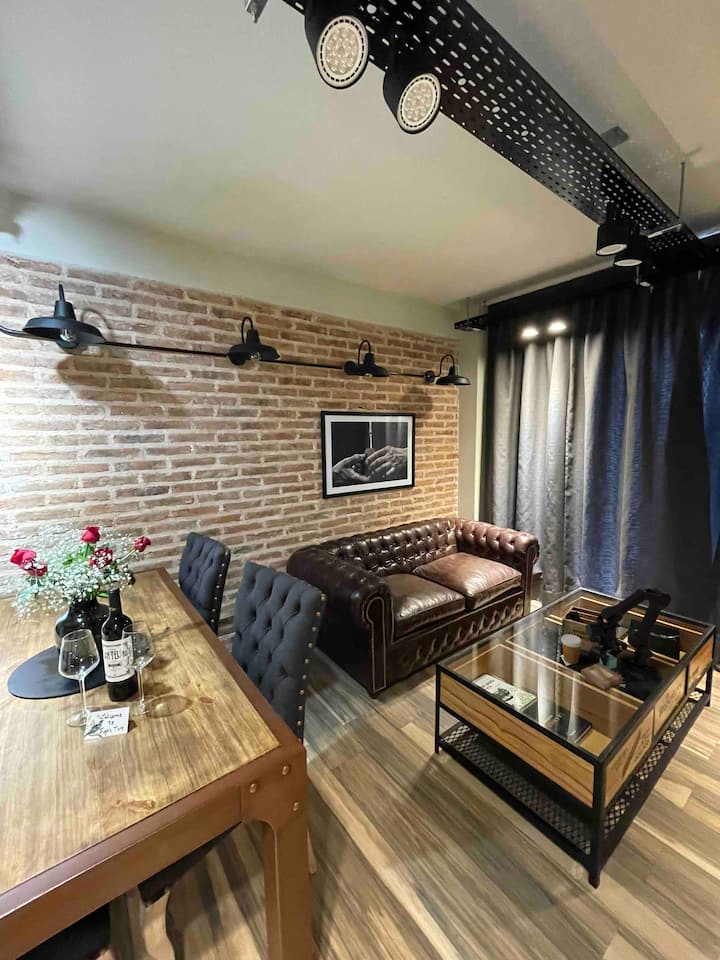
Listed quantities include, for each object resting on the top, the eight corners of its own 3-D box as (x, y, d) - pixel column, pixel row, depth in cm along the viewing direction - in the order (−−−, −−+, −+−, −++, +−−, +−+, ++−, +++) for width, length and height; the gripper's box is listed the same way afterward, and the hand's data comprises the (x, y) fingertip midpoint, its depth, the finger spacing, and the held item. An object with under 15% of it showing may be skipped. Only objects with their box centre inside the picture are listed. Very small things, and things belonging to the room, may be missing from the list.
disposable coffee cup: (584, 666, 198) (585, 644, 196) (563, 665, 200) (564, 643, 198) (578, 655, 207) (578, 634, 205) (558, 654, 209) (558, 633, 207)
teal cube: (606, 661, 201) (607, 652, 200) (616, 667, 196) (616, 657, 196) (599, 664, 199) (599, 655, 198) (609, 670, 195) (609, 660, 194)
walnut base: (598, 667, 197) (599, 662, 197) (622, 682, 186) (622, 677, 185) (580, 674, 193) (581, 669, 192) (604, 689, 182) (604, 684, 181)
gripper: (607, 622, 206) (606, 650, 208) (580, 631, 199) (579, 660, 202) (628, 633, 196) (627, 662, 198) (601, 642, 189) (600, 672, 191)
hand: (608, 663), depth 198 cm, fingers closed on teal cube, 5 cm apart
